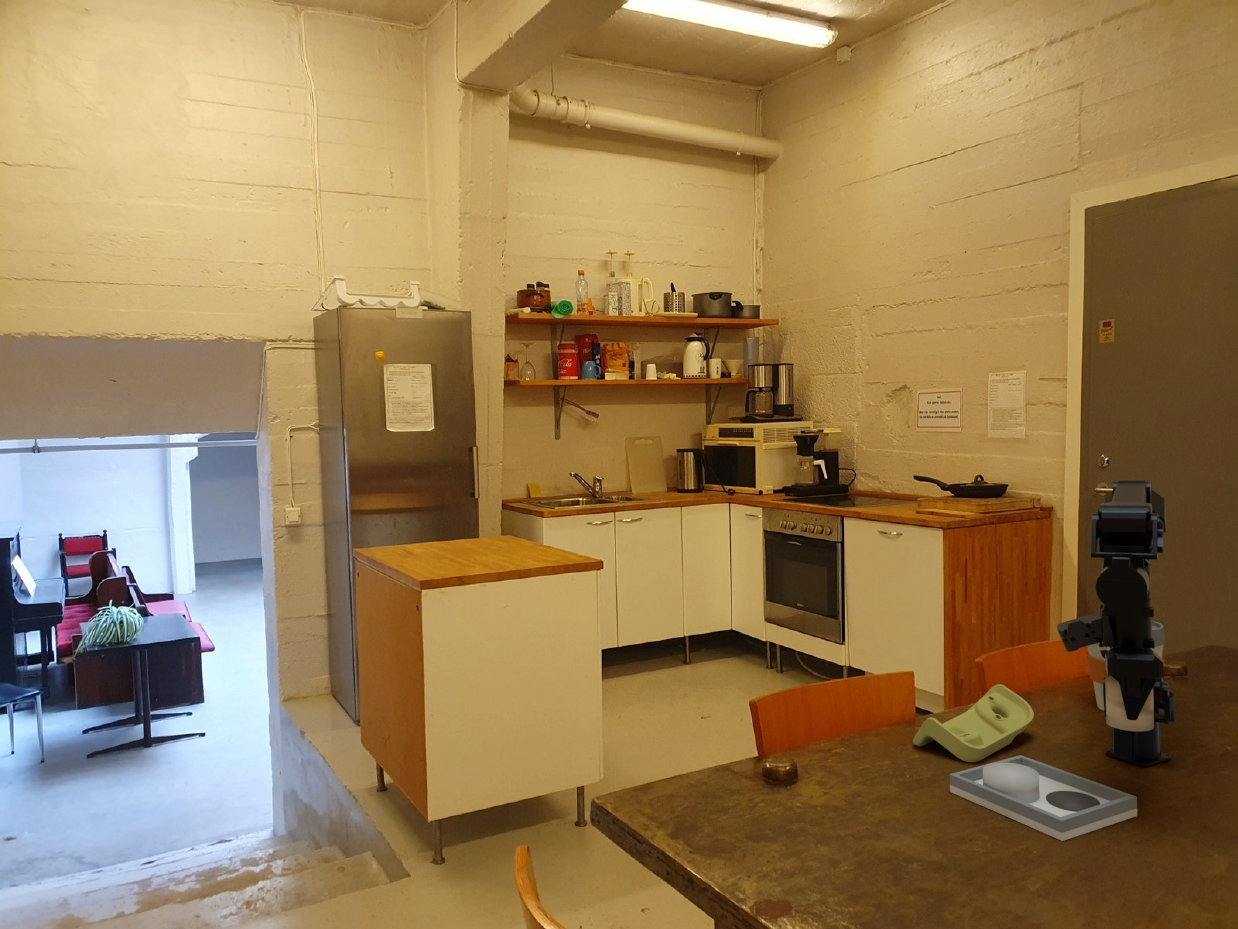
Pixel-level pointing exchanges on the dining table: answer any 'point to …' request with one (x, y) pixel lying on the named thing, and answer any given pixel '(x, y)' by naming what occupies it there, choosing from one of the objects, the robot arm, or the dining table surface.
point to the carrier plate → (1044, 796)
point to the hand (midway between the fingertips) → (1129, 713)
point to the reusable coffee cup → (1098, 663)
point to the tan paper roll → (1117, 710)
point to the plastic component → (980, 726)
